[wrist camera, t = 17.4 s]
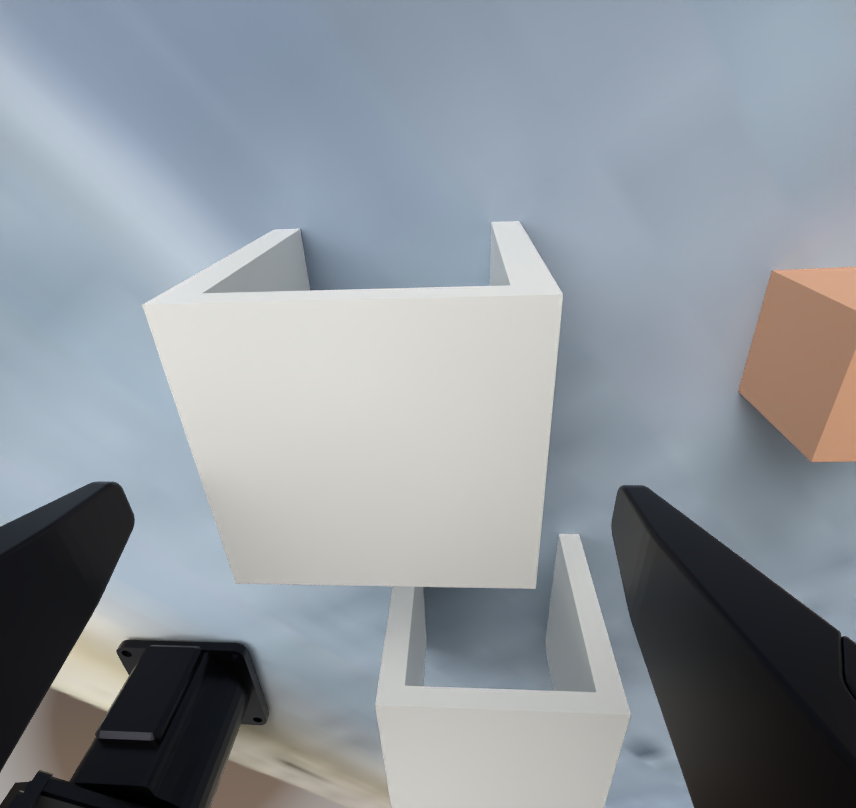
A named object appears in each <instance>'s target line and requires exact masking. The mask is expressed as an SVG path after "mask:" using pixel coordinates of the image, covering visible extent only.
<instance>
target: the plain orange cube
mask: <svg viewBox="0 0 856 808" xmlns="http://www.w3.org/2000/svg"><path fill="white" fill-rule="evenodd" d="M738 392H739V393H740V394H741V395H742V396H743V397H744V398H746V399H747V400H748V401H749V402H750V403H751V404H752V405H753V406H754V407H755V408H756V409H757V410H758V411H759V412H760V413H761V414H762V415H763V416H764V417H765V418H766V419H767V420H768V421H769V422H770V423H771V424H772V425H773V426H774V427H775V428H777V429H778V430H779V431H780V432H781V433H782V434H783V435H784V436H785V437H786V438H787V439H788V440H789V441H790V442H791V443H792V444H793V445H794V446H795V447H796V448H797V449H798V450H799V451H800V452H801V453H802V454H803V455H804V456H805V457H806V458H807V459H809V460H810V461H811V462H850V461H856V267H841V268H818V269H795V270H772V272H771V276H770V280H769V283H768V287H767V290H766V294H765V298H764V301H763V305H762V308H761V312H760V315H759V319H758V323H757V326H756V330H755V333H754V337H753V341H752V344H751V348H750V351H749V355H748V358H747V362H746V366H745V369H744V373H743V376H742V380H741V384H740V387H739V391H738Z"/></svg>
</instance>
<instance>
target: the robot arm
mask: <svg viewBox="0 0 856 808" xmlns="http://www.w3.org/2000/svg"><path fill="white" fill-rule="evenodd" d="M134 521H135V519H134V514H133V511H132V509H131V507H130V504H129V502H128V500H127V498H126V495H125V493H124V491H123V488H122V487H121V486H120V485H119V484H118V483H116V482H92V483H90V484H88V485H86V486H84V487H81V488H79V489H77V490H75V491H73V492H71V493H69V494H67V495H65V496H63V497H61V498H59V499H57V500H55V501H53V502H51V503H48V504H46V505H44V506H42V507H40V508H38V509H36V510H34V511H32V512H30V513H28V514H26V515H24V516H22V517H20V518H18V519H15V520H13V521H11V522H9V523H7V524H5V525H3V526H1V527H0V772H1V770H2V768H3V767H4V765H5V763H6V761H7V759H8V758H9V756H10V755H11V753H12V751H13V749H14V748H15V746H16V744H17V743H18V741H19V739H20V737H21V736H22V734H23V732H24V731H25V729H26V727H27V725H28V724H29V722H30V720H31V718H32V717H33V715H34V713H35V712H36V710H37V708H38V707H39V705H40V703H41V701H42V700H43V698H44V696H45V695H46V693H47V691H48V689H49V688H50V686H51V684H52V683H53V681H54V679H55V677H56V676H57V674H58V672H59V671H60V669H61V667H62V665H63V664H64V662H65V660H66V659H67V657H68V655H69V653H70V652H71V650H72V648H73V647H74V645H75V643H76V641H77V640H78V638H79V636H80V635H81V633H82V631H83V629H84V628H85V626H86V624H87V623H88V621H89V619H90V617H91V616H92V614H93V612H94V610H95V608H96V607H97V605H98V603H99V601H100V599H101V597H102V595H103V593H104V591H105V589H106V586H107V584H108V582H109V580H110V578H111V576H112V573H113V571H114V569H115V567H116V565H117V563H118V560H119V558H120V556H121V554H122V552H123V550H124V547H125V545H126V543H127V541H128V539H129V537H130V534H131V532H132V530H133V527H134ZM611 527H612V536H613V541H614V546H615V550H616V555H617V560H618V564H619V569H620V574H621V578H622V583H623V588H624V592H625V597H626V602H627V606H628V610H629V615H630V618H631V622H632V625H633V628H634V631H635V634H636V637H637V640H638V643H639V646H640V649H641V652H642V655H643V658H644V661H645V664H646V667H647V670H648V673H649V676H650V679H651V682H652V684H653V687H654V690H655V693H656V696H657V699H658V702H659V705H660V708H661V711H662V714H663V717H664V720H665V723H666V726H667V729H668V732H669V735H670V738H671V741H672V744H673V746H674V749H675V752H676V755H677V758H678V761H679V764H680V767H681V770H682V773H683V776H684V779H685V782H686V785H687V788H688V791H689V794H690V797H691V800H692V803H693V806H694V808H856V643H855V642H853V641H852V640H851V639H849V638H848V637H846V636H843V637H841V633H840V631H838V630H837V629H836V628H834V627H833V626H832V625H830V624H829V623H828V622H826V621H825V620H824V619H822V618H821V617H820V616H818V615H817V614H816V613H814V612H813V611H812V610H810V609H809V608H808V607H806V606H805V605H804V604H802V603H801V602H800V601H798V600H797V599H796V598H794V597H793V596H792V595H790V594H789V593H788V592H786V591H785V590H784V589H782V588H781V587H780V586H778V585H777V584H776V583H774V582H773V581H772V580H770V579H769V578H768V577H766V576H765V575H764V574H762V573H761V572H760V571H758V570H757V569H756V568H754V567H753V566H752V565H750V564H749V563H748V562H746V561H745V560H744V559H742V558H741V557H740V556H738V555H737V554H736V553H734V552H733V551H732V550H730V549H729V548H728V547H726V546H725V545H724V544H722V543H721V542H720V541H718V540H717V539H716V538H714V537H713V536H712V535H710V534H709V533H708V532H706V531H705V530H704V529H702V528H701V527H700V526H698V525H697V524H696V523H694V522H693V521H692V520H690V519H689V518H688V517H686V516H685V515H684V514H682V513H681V512H680V511H678V510H677V509H676V508H674V507H673V506H672V505H670V504H669V503H668V502H666V501H665V500H664V499H662V498H661V497H660V496H658V495H657V494H656V493H654V492H653V491H652V490H650V489H649V488H647V487H646V486H642V485H623V486H621V487H620V488H619V489H618V492H617V496H616V501H615V507H614V512H613V517H612V525H611ZM117 654H118V656H119V658H120V660H121V662H122V663H123V665H124V667H125V669H126V671H127V672H128V674H129V677H128V679H127V680H126V682H125V684H124V685H123V687H122V689H121V690H120V692H119V694H118V695H117V697H116V699H115V700H114V702H113V704H112V705H111V707H110V709H109V710H108V712H107V714H106V716H105V717H104V719H103V721H102V722H101V724H100V726H99V727H98V729H97V731H96V733H95V735H96V737H95V739H94V741H93V742H92V744H91V746H90V747H89V749H88V751H87V752H86V754H85V756H84V757H83V759H82V761H81V762H80V764H79V766H78V767H77V769H76V771H75V773H74V774H73V776H72V778H71V779H70V781H69V782H68V781H65V780H61V779H58V778H54V777H52V775H53V774H51V773H48V772H45V771H42V770H39V771H38V773H37V774H36V775H35V777H34V778H33V780H32V781H29V782H20V783H15V784H14V786H13V787H12V789H11V790H10V791H9V793H8V795H7V796H6V797H5V799H4V800H3V802H2V803H1V805H0V808H210V807H211V803H212V801H213V798H214V796H215V793H216V791H217V788H218V785H219V782H220V780H221V777H222V774H223V771H224V769H225V766H226V763H227V760H228V758H229V755H230V752H231V749H232V747H233V744H234V741H235V739H236V736H237V733H238V730H239V728H240V725H241V724H249V725H263V724H265V723H266V722H267V719H268V716H269V711H268V708H267V705H266V703H265V700H264V697H263V694H262V691H261V688H260V685H259V682H258V679H257V677H256V674H255V671H254V668H253V665H252V662H251V659H250V656H249V653H248V651H247V649H246V647H244V646H243V645H241V644H237V643H210V642H176V641H142V640H125V641H123V642H122V643H121V644H120V646H119V647H118V649H117Z"/></svg>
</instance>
